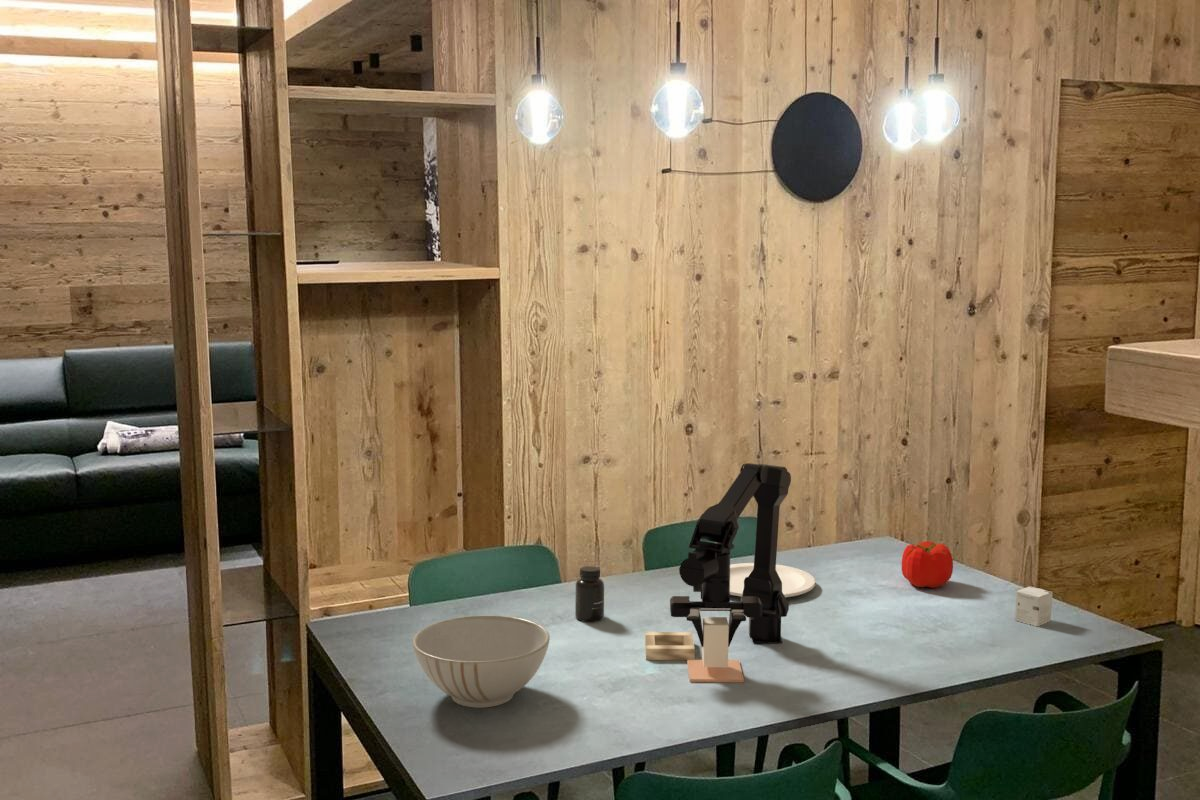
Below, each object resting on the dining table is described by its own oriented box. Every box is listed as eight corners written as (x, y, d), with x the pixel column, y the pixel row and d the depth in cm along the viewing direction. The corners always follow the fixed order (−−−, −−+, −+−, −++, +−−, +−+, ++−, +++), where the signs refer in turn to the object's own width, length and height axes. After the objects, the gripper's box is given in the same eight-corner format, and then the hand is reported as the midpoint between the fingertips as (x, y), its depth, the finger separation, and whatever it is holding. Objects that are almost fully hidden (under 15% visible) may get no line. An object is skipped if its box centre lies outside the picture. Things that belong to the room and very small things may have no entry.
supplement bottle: (601, 623, 279) (600, 573, 277) (572, 621, 280) (572, 572, 278) (606, 613, 286) (606, 565, 284) (578, 612, 287) (578, 563, 285)
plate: (823, 604, 293) (823, 595, 292) (709, 604, 293) (709, 595, 293) (805, 571, 321) (805, 562, 320) (701, 571, 321) (701, 562, 321)
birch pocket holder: (691, 642, 266) (691, 632, 266) (694, 660, 256) (694, 648, 255) (645, 642, 266) (645, 631, 266) (646, 659, 256) (646, 648, 255)
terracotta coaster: (738, 662, 254) (738, 659, 254) (743, 682, 243) (743, 679, 243) (686, 662, 254) (687, 659, 254) (689, 682, 243) (689, 679, 243)
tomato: (918, 573, 317) (919, 535, 316) (962, 584, 308) (964, 545, 306) (888, 584, 308) (890, 544, 307) (933, 596, 299) (935, 555, 297)
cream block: (725, 658, 251) (726, 617, 250) (728, 667, 246) (728, 625, 245) (702, 658, 251) (702, 617, 250) (703, 667, 246) (704, 625, 245)
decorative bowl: (435, 733, 219) (433, 670, 218) (399, 682, 244) (397, 625, 242) (570, 709, 230) (570, 649, 228) (523, 662, 254) (522, 608, 252)
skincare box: (1014, 620, 280) (1015, 590, 279) (1027, 615, 284) (1029, 585, 283) (1038, 627, 276) (1039, 596, 275) (1051, 621, 280) (1053, 591, 279)
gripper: (757, 562, 253) (755, 633, 256) (669, 562, 254) (668, 632, 256) (763, 578, 242) (761, 651, 245) (671, 578, 243) (670, 651, 245)
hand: (715, 646), depth 248 cm, fingers closed on cream block, 5 cm apart
